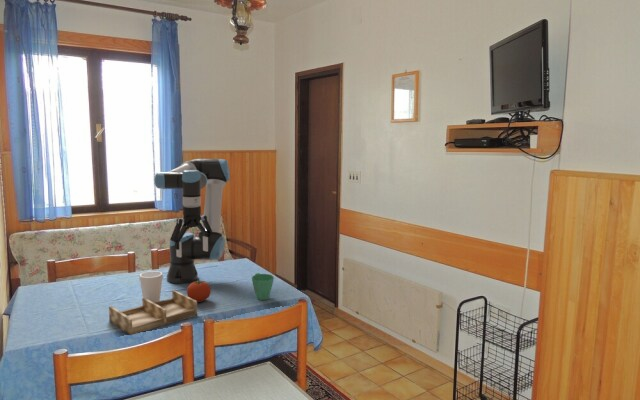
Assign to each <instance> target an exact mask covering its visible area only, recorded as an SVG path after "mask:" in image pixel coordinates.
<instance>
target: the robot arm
mask: <svg viewBox="0 0 640 400" xmlns="http://www.w3.org/2000/svg"><path fill="white" fill-rule="evenodd" d="M230 179H231V171H230V166H229V163H228V160H227V159H224V158H223V159H222V158H193V159H190V160H187V161H184V162H182V163H181V164H180V165H179V166H178V167H176V168H174V169H171V170H169V171H158V172H156V173H155V176H154V187H156V188H157V189H161V190H162V189H163V190H167V189H168V190H182V215H183V218H176V221H175V222H176V223H175V227H174V229H173V230H172V234H171V236H170V239H169V268H168V271H167V273H166V274H167V275H166V280H167V282H169V283H171V284H188V283H193V282H195V281H198V280H199V279H198V277H199V275H198V271H197V268H196V265H195V260H196V261H197V260H200V261H201V260H204V261H209V260H210V261H215V260H217V261H218V260H221V258H222V256H223V254H224V251H225V245H226V239H225V237H224V236H223V233H222V232H221V231H220V229H221V228H220V226H221V218H222V217H221V215H222V203H223V193H224V192H223V191H224V190H223V189H224V187H225V186H227V182H229V181H230ZM204 188H205V198H204V206H203V207H204V209H203V214H202V206H201V205H202V203H201V202H202V200H201V197H202V194H201V193H202V191H201V190H203V189H204ZM201 222H202V223H201ZM190 228H191V229H193V228H197V229H198V230H199V232H198V236H195V234H194V233H193V232H187V231H188V230H189V229H190Z"/></svg>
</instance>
